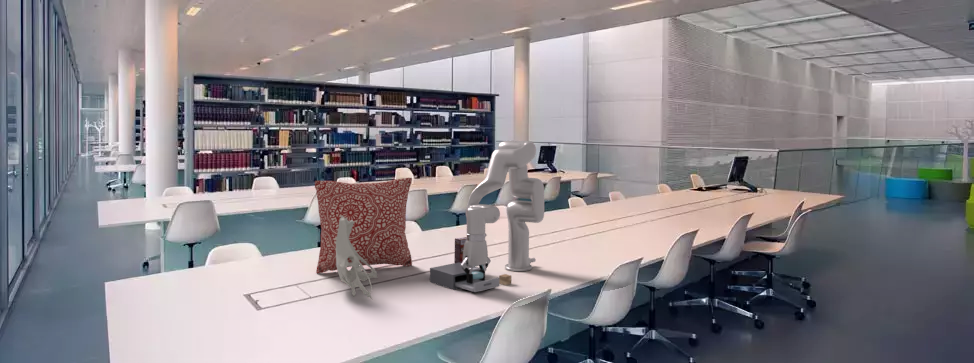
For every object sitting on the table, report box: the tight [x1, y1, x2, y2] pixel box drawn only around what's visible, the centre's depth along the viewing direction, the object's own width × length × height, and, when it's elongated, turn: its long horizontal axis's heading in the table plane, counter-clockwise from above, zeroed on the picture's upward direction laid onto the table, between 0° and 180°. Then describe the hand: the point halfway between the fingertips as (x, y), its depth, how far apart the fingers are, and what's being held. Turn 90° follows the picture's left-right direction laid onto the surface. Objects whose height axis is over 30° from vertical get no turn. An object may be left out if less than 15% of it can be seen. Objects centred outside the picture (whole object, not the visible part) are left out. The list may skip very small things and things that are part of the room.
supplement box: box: [453, 236, 467, 263], centre depth 260 cm, size 9×5×16 cm, turn 126°
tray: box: [455, 277, 500, 293], centre depth 236 cm, size 13×15×4 cm
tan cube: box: [498, 273, 512, 286], centre depth 243 cm, size 4×4×4 cm
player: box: [429, 262, 480, 291], centre depth 245 cm, size 16×16×6 cm
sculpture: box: [336, 215, 379, 300], centre depth 230 cm, size 32×18×30 cm, turn 14°
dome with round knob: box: [471, 272, 483, 279], centre depth 235 cm, size 6×6×2 cm
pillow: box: [314, 177, 413, 274], centre depth 265 cm, size 44×16×42 cm, turn 112°
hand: (475, 281), depth 236 cm, fingers closed on dome with round knob, 5 cm apart
